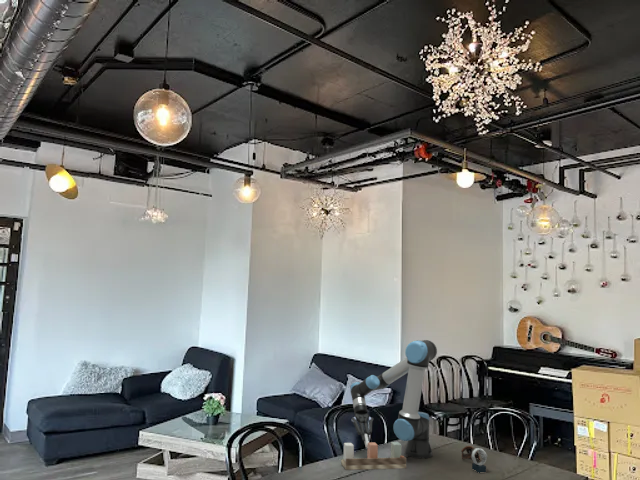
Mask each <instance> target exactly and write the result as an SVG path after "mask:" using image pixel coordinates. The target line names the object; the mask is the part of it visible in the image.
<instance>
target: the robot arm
mask: <svg viewBox="0 0 640 480" xmlns="http://www.w3.org/2000/svg"><path fill="white" fill-rule="evenodd" d="M437 355H438V349H437V346H436V345H435V343H434V342H433V341H431V340H427V339H424V340H423V339H422V340H419V339H418V340H414V341H411V342H409V343H408V344H407V345H406V348H405V358H404V359H402V360H400V361H399V362H397V363H396V364H395V365H393V366H391V367H390V368H389V369H387V370H385V371H384V372H382V373H381V374H379V375H378V376H376V375H374V374H371V375H370V376H367V377H366V378H365V379H364V380H363V381H361V382H359V381H355V382H352V384H350V395H351V400H352V406H353V411H354V417H352V418H351V420H350V421H351V423H352V424H353V427H354V428H355V430H356V433H357V435H358V436H360V437H361V439H362V442H364V445H365V447H364V448H367V449H368V443H370V439H371V438H370V437H371V436H372V432H373V421H374V417H371V416H370V415H369V413H368V408H367V403H366V398H365V397H366V396H367V395H368V394H370V393H371V392H374V391H378V390H385V389H387V388H388V387H389V386H390V384H392V383H393V382H395V381H397V380H398V379H400V378H401V377H403V376H405V375H406V374H407V377H406V378H407V379H406V385H405V392H404V397H403V404H402V409H401V410H399V412H398V416H397V417H398V418H397V419H395V421H394V423H393V425H392V426H393V428H392V429H393V432H394V434H395V436H396V437H397V438H398V439H399V440H400V441H403V442H406V445H405V448H404V454H405V455H406V456H408V457H410V458H414V459H428V458H432V457H433V450H432V446H431V443H430V415H429V413H426V412H422V411H419V410H420V409H419V408H420V402H421V396H422V391H423V383H424V377H425V371H426V370H427V369H428V368H429V364H430V362H431V361H433V360H434V359H436V357H437ZM368 422H369V424H368Z"/></svg>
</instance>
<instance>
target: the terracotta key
mask: <svg viewBox="0 0 640 480" xmlns="http://www.w3.org/2000/svg"><path fill="white" fill-rule="evenodd" d="M378 448H379V445H378V444H377V443H376V442H372V441H371V442H370V441H369V443H368V448H367V449H366V450H367V453H366V455H367V457H366V458H379V456H378V455H379V453H378V451H379V449H378Z"/></svg>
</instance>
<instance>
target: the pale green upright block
mask: <svg viewBox="0 0 640 480" xmlns="http://www.w3.org/2000/svg"><path fill="white" fill-rule="evenodd" d="M401 455H402V444H401V443H400V442H399V441H391V442H390V458H400V456H401Z"/></svg>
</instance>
